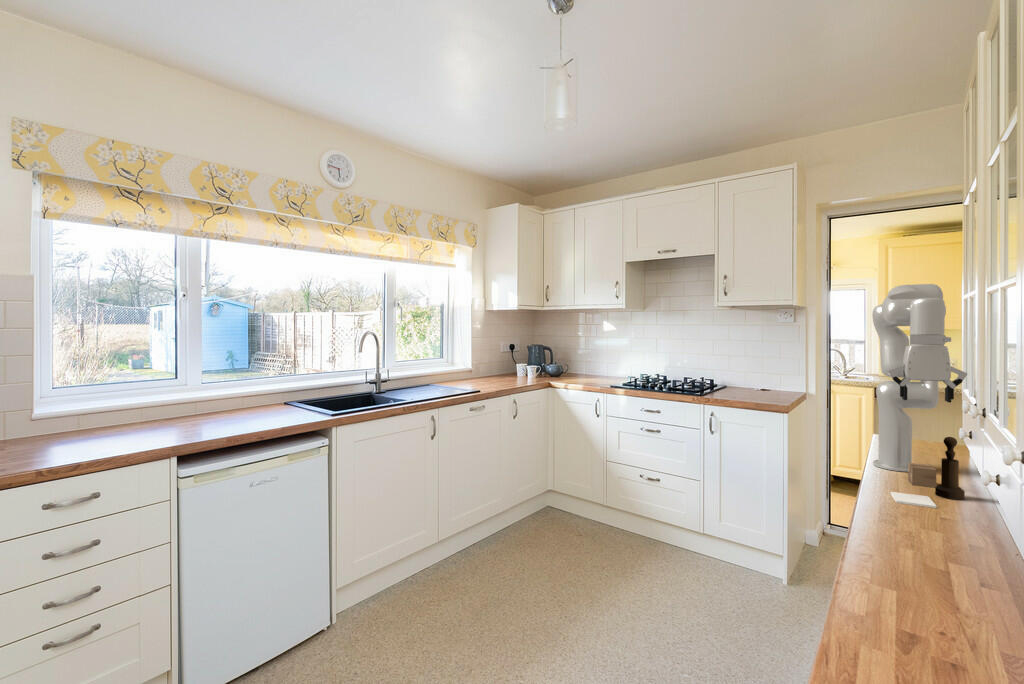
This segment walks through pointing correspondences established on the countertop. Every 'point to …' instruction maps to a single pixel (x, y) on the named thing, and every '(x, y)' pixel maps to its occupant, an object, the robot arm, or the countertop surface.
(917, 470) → the walnut cube
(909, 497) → the tile pad
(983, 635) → the countertop surface
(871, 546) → the countertop surface
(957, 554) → the countertop surface
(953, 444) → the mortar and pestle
